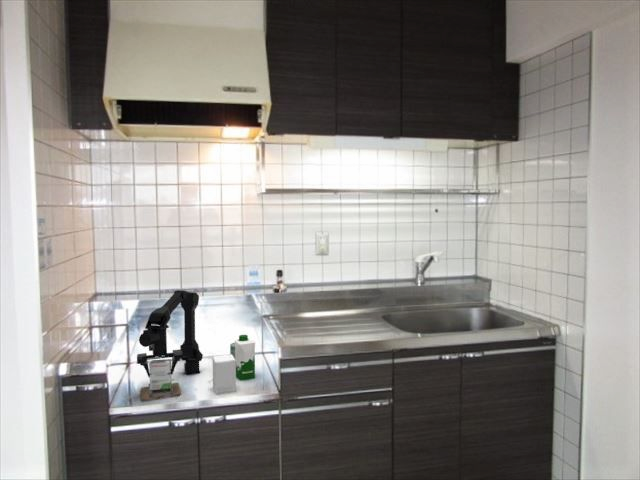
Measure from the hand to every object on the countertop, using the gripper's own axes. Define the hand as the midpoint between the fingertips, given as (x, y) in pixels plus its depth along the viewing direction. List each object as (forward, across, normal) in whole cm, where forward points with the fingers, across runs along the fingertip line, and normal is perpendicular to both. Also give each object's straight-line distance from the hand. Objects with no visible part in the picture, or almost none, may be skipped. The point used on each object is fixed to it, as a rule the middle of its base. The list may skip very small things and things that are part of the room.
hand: (160, 375), depth 204 cm
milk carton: (+8, -38, -3) cm, 39 cm away
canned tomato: (+8, -39, -23) cm, 46 cm away
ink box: (+6, 0, 0) cm, 6 cm away
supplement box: (+8, -26, +9) cm, 29 cm away
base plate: (+8, 0, 0) cm, 8 cm away
